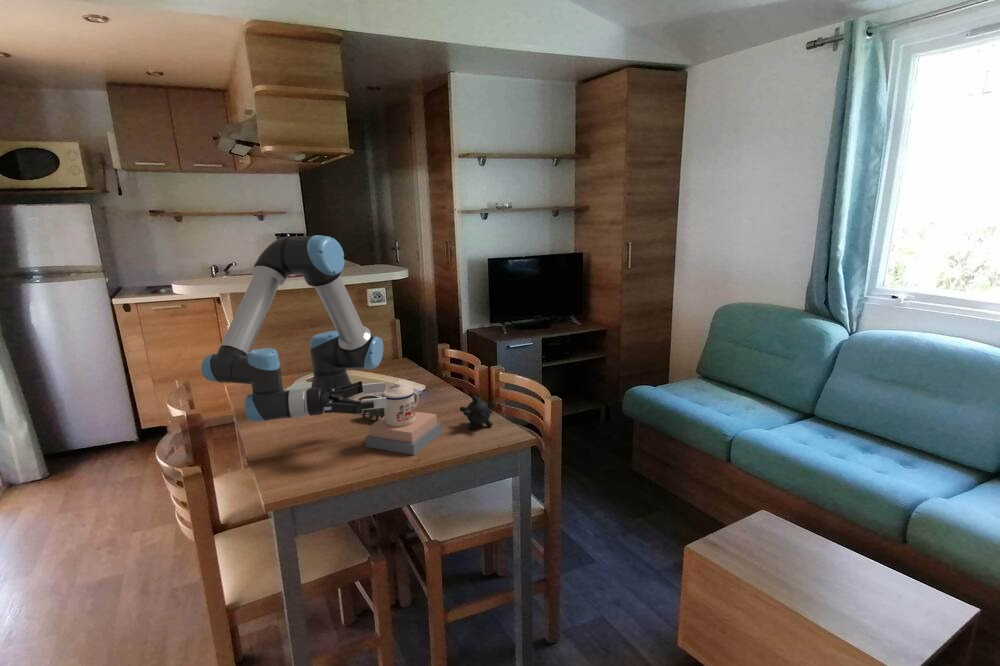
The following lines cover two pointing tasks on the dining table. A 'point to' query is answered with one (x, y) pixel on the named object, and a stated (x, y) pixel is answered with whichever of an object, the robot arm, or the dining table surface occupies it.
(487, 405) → the toy ball
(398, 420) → the teacup with lid
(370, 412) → the rhino figurine
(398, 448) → the brick plinth
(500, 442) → the dining table surface
